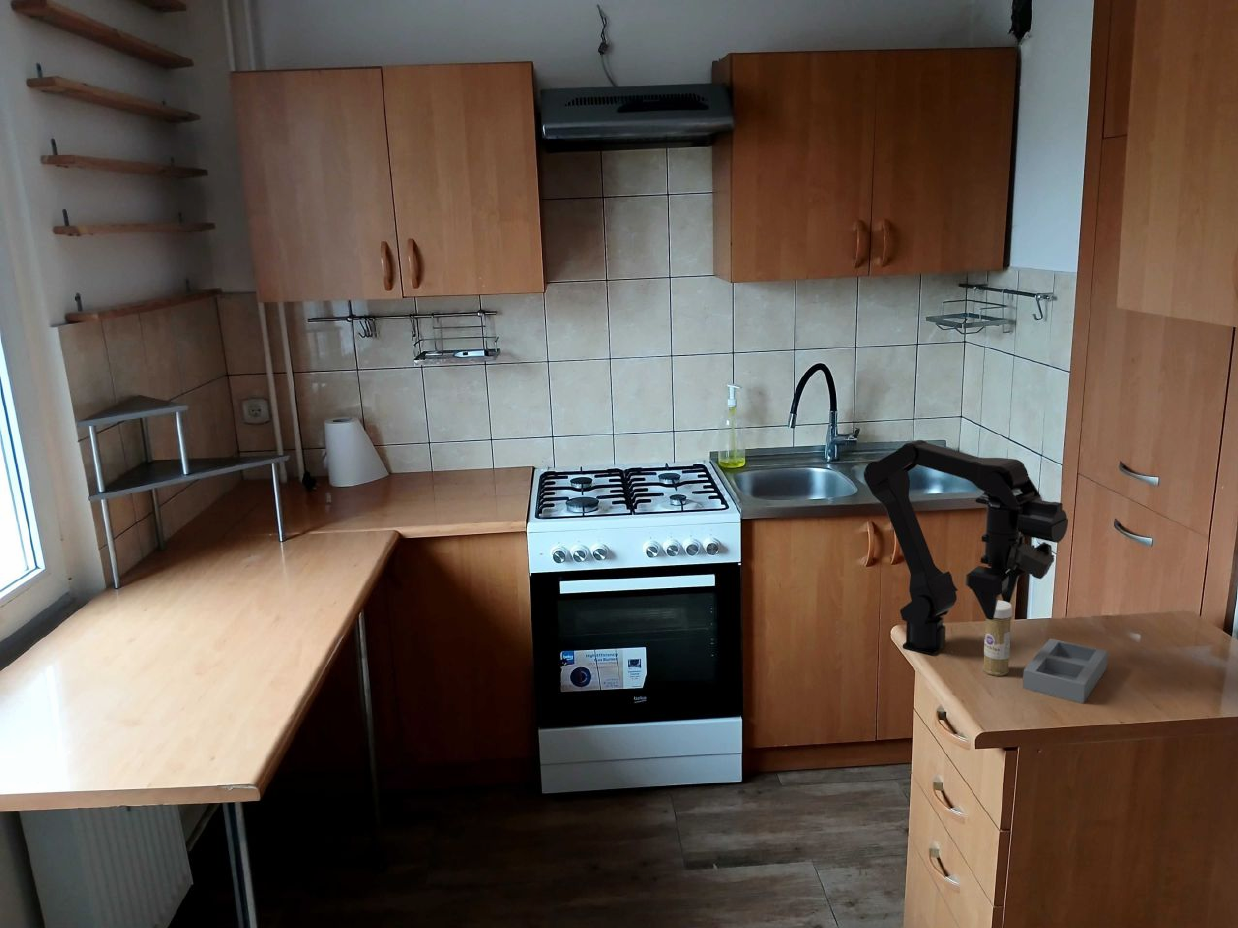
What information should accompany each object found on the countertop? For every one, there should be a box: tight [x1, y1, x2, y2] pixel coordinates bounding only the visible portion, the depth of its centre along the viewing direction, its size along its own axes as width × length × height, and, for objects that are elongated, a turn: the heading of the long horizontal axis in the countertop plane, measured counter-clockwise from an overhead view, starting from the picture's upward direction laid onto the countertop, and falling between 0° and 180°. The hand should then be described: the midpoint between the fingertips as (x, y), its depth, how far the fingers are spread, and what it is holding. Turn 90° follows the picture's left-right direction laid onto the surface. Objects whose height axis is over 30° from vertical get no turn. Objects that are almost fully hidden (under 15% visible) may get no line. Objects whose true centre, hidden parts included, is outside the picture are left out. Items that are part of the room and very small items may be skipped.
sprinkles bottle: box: [982, 599, 1013, 677], centre depth 170 cm, size 5×5×13 cm
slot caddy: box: [1022, 638, 1108, 704], centre depth 167 cm, size 10×16×4 cm, turn 140°
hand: (998, 610), depth 169 cm, fingers open, 9 cm apart
